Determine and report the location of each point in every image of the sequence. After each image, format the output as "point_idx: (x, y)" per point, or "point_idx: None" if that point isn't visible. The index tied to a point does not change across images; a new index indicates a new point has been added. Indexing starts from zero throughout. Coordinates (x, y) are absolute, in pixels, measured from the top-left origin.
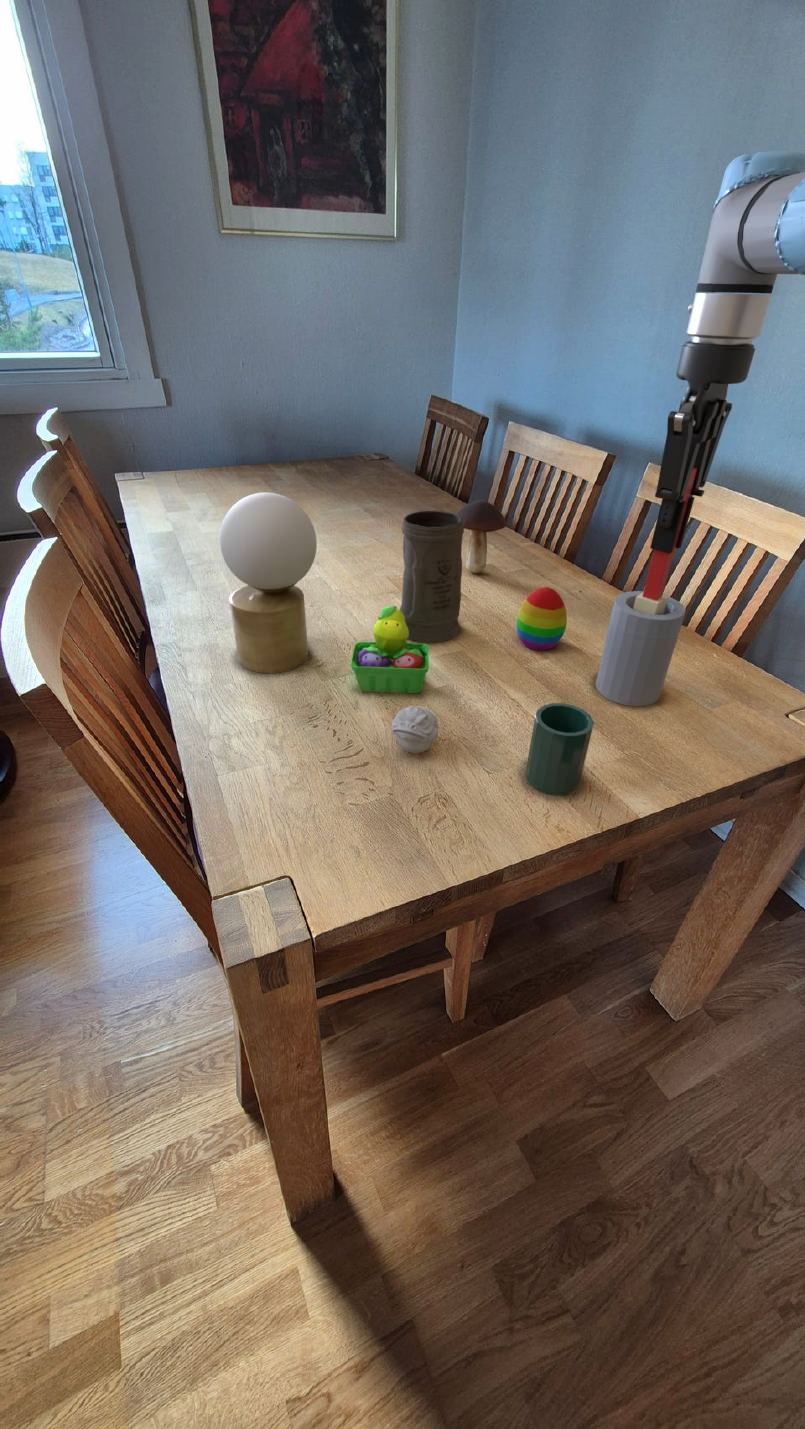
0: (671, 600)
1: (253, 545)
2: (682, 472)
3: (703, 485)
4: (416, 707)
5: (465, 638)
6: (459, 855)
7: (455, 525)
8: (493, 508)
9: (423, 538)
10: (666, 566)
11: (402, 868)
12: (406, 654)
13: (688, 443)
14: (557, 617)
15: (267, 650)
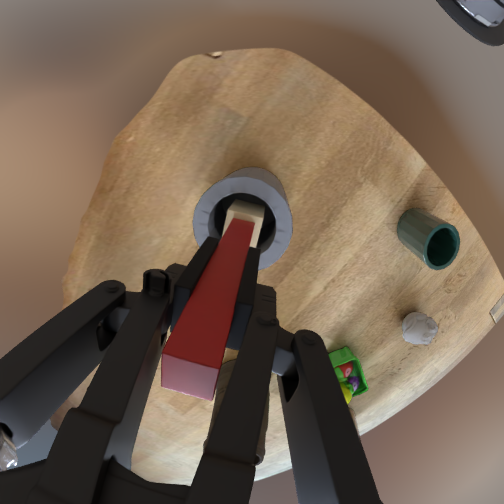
0: (207, 202)
1: None
2: (322, 390)
3: (116, 283)
4: (425, 338)
5: None
6: (477, 255)
7: None
8: None
9: (264, 450)
10: (244, 239)
11: (485, 275)
12: (345, 376)
13: (353, 478)
14: None
15: (356, 423)
